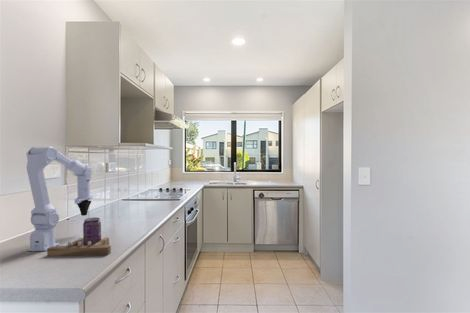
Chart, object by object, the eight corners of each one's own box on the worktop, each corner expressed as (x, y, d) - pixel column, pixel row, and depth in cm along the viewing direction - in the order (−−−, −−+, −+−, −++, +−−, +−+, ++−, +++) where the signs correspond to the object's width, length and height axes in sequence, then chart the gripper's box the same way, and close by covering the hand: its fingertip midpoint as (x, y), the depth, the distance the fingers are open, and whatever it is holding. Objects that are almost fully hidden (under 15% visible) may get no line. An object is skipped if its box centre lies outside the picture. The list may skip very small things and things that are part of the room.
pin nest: (107, 255, 117) (107, 242, 117) (47, 256, 116) (47, 243, 116) (121, 244, 131) (121, 232, 131) (67, 244, 131) (67, 233, 131)
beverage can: (96, 242, 134) (96, 216, 134) (104, 245, 129) (103, 218, 129) (80, 246, 129) (80, 219, 129) (87, 249, 124) (87, 221, 124)
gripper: (84, 190, 143) (84, 218, 143) (98, 187, 157) (98, 212, 157) (70, 190, 142) (70, 218, 143) (84, 187, 157) (85, 212, 157)
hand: (84, 215), depth 150 cm, fingers closed
